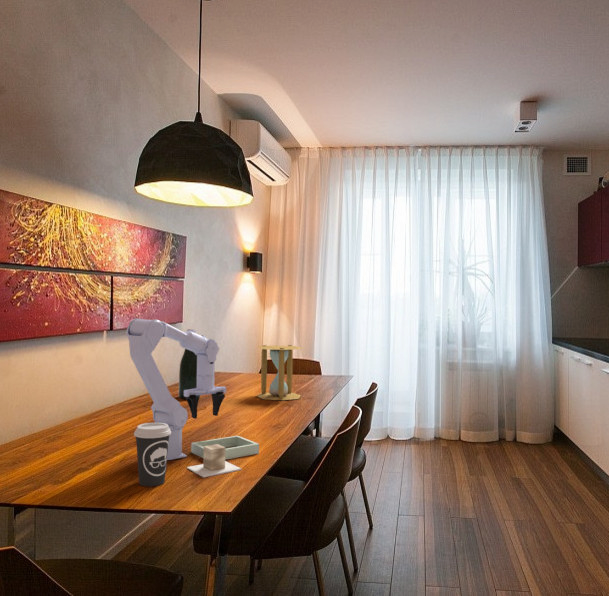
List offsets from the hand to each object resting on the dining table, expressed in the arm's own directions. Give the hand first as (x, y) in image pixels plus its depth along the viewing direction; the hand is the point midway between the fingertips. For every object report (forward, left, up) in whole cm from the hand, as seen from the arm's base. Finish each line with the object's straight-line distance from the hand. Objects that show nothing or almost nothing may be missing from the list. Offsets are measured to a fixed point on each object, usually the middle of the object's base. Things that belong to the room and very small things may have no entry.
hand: (204, 416), depth 186 cm
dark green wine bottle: (+36, +84, -10) cm, 92 cm away
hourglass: (+74, +63, -10) cm, 98 cm away
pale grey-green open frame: (+2, -10, -10) cm, 14 cm away
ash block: (-9, -23, -10) cm, 26 cm away
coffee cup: (-28, -24, -10) cm, 38 cm away
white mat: (-9, -23, -10) cm, 27 cm away
